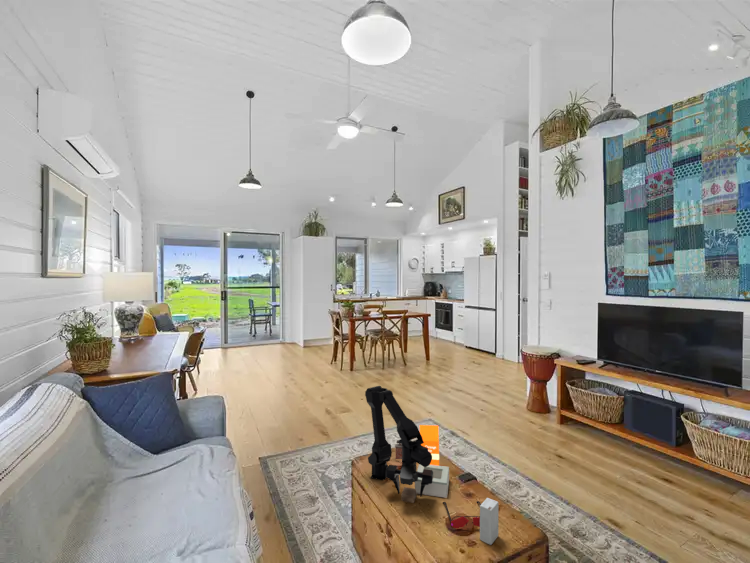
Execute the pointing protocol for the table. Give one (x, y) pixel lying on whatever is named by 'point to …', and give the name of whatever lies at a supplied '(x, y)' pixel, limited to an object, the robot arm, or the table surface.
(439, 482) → the slot box
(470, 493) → the table surface
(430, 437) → the orange juice
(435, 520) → the table surface
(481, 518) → the skincare box
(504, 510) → the table surface
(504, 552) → the table surface
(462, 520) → the glasses
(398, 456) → the ornate red flask
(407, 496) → the brown square block
